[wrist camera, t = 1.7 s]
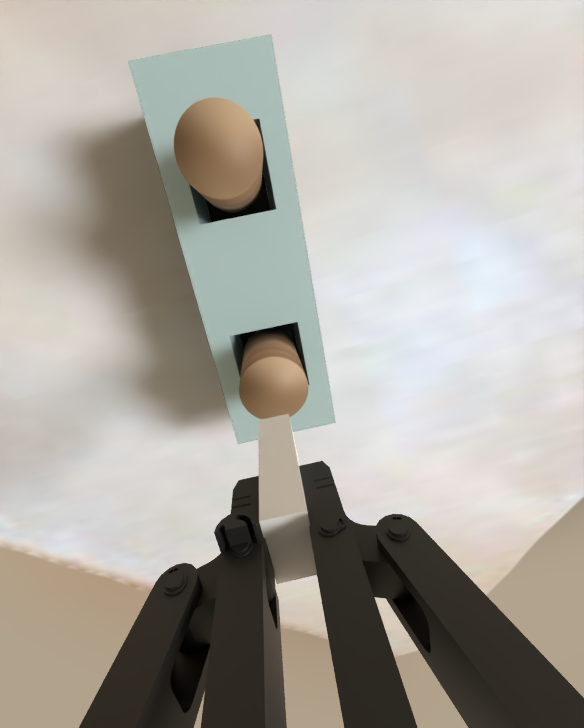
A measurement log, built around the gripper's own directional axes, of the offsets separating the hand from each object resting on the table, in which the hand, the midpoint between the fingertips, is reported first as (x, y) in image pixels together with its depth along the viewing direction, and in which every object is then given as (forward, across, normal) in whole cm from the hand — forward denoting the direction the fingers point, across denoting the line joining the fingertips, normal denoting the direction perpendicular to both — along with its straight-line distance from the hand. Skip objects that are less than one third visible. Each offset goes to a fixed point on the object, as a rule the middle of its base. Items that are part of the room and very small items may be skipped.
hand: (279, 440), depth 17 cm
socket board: (+20, 0, +7) cm, 21 cm away
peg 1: (+14, 0, +14) cm, 20 cm away
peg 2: (+14, 0, 0) cm, 14 cm away
